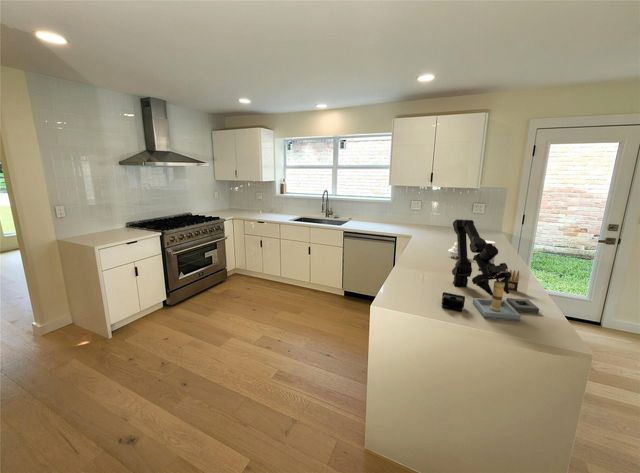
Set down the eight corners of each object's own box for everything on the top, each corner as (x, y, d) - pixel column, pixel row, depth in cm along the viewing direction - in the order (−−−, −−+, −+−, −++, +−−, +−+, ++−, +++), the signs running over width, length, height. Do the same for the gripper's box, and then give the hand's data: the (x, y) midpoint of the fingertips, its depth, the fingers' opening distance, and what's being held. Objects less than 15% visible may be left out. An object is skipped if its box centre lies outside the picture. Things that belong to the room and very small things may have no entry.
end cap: (463, 307, 142) (465, 294, 140) (463, 313, 136) (464, 300, 134) (442, 302, 146) (443, 290, 145) (440, 308, 140) (441, 295, 139)
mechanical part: (444, 256, 224) (446, 241, 221) (455, 254, 229) (457, 240, 226) (456, 260, 214) (458, 245, 211) (467, 258, 219) (469, 243, 216)
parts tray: (483, 318, 131) (484, 312, 130) (472, 303, 145) (473, 297, 145) (519, 321, 129) (520, 315, 128) (504, 305, 143) (505, 300, 142)
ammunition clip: (494, 287, 166) (498, 267, 163) (495, 286, 167) (498, 266, 165) (517, 291, 160) (520, 271, 157) (516, 290, 162) (520, 270, 159)
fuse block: (515, 311, 137) (516, 306, 137) (505, 302, 147) (506, 297, 146) (538, 313, 136) (539, 308, 135) (527, 304, 145) (528, 299, 145)
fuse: (490, 310, 136) (494, 283, 132) (489, 307, 139) (494, 280, 136) (500, 312, 134) (505, 285, 131) (499, 309, 138) (504, 281, 134)
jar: (488, 264, 205) (492, 240, 201) (495, 269, 196) (499, 243, 191) (474, 263, 206) (478, 239, 202) (480, 268, 196) (484, 243, 192)
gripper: (480, 258, 132) (496, 290, 124) (511, 255, 137) (529, 286, 129) (465, 268, 141) (479, 299, 134) (495, 265, 146) (511, 294, 138)
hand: (500, 294), depth 133 cm, fingers open, 9 cm apart
